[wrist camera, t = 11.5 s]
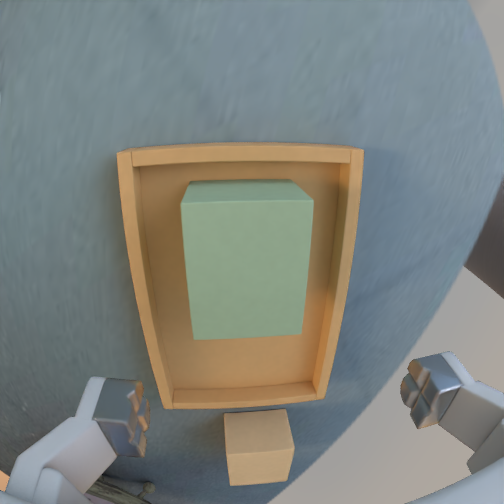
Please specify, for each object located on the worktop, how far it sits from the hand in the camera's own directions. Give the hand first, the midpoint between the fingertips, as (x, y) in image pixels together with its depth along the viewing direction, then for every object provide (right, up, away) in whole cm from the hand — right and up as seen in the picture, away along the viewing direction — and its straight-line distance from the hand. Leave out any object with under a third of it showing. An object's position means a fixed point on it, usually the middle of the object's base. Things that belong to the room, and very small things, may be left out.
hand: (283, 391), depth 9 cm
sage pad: (-2, +5, +10) cm, 11 cm away
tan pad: (-1, -13, +18) cm, 23 cm away
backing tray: (-2, +1, +12) cm, 12 cm away
